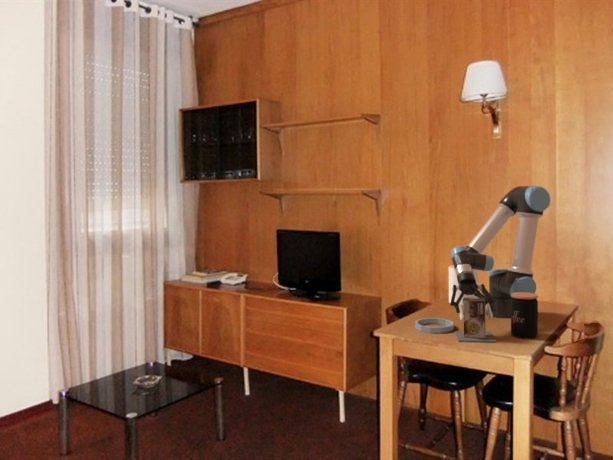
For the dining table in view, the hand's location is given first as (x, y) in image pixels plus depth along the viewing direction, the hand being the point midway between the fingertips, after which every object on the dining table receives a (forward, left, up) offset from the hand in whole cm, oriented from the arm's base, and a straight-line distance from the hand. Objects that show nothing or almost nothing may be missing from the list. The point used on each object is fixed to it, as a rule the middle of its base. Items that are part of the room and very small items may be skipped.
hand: (476, 318), depth 217 cm
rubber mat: (0, -3, -9) cm, 9 cm away
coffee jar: (-21, -7, -9) cm, 23 cm away
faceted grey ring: (+16, -17, -9) cm, 25 cm away
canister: (-3, -72, -9) cm, 72 cm away
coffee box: (+1, -3, -8) cm, 9 cm away
